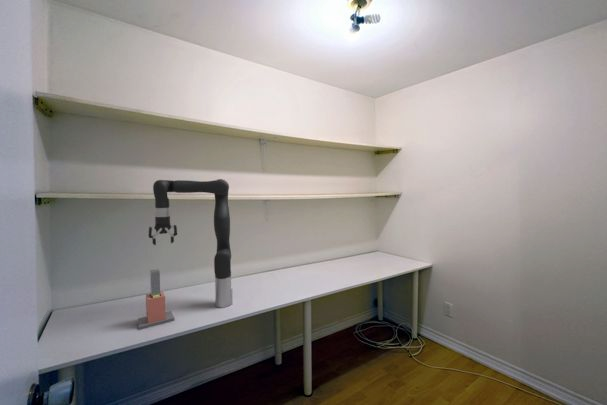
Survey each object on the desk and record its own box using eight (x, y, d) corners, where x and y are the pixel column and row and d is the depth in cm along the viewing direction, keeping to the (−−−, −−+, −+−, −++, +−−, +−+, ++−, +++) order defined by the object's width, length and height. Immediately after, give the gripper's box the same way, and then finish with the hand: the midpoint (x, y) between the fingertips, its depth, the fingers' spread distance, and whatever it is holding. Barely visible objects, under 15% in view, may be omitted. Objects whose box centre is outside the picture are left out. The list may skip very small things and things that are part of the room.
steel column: (159, 303, 146) (158, 269, 144) (160, 305, 142) (159, 271, 141) (150, 304, 143) (149, 270, 142) (151, 307, 140) (150, 272, 139)
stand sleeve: (171, 313, 152) (170, 287, 151) (174, 320, 144) (173, 293, 143) (137, 321, 143) (136, 293, 142) (139, 329, 135) (138, 300, 134)
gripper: (175, 214, 160) (175, 241, 161) (147, 215, 152) (148, 244, 153) (177, 215, 154) (178, 243, 155) (148, 217, 145) (149, 247, 147)
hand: (163, 244), depth 154 cm, fingers open, 8 cm apart
